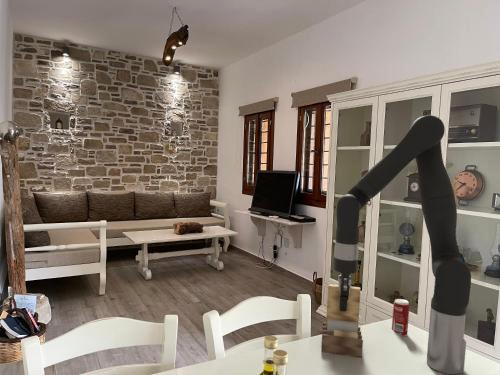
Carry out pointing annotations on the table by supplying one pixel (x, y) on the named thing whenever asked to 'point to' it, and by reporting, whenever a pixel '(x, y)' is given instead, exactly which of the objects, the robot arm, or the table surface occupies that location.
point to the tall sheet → (334, 305)
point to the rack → (341, 344)
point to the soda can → (400, 316)
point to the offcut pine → (345, 334)
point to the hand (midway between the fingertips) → (342, 309)
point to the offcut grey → (341, 325)
